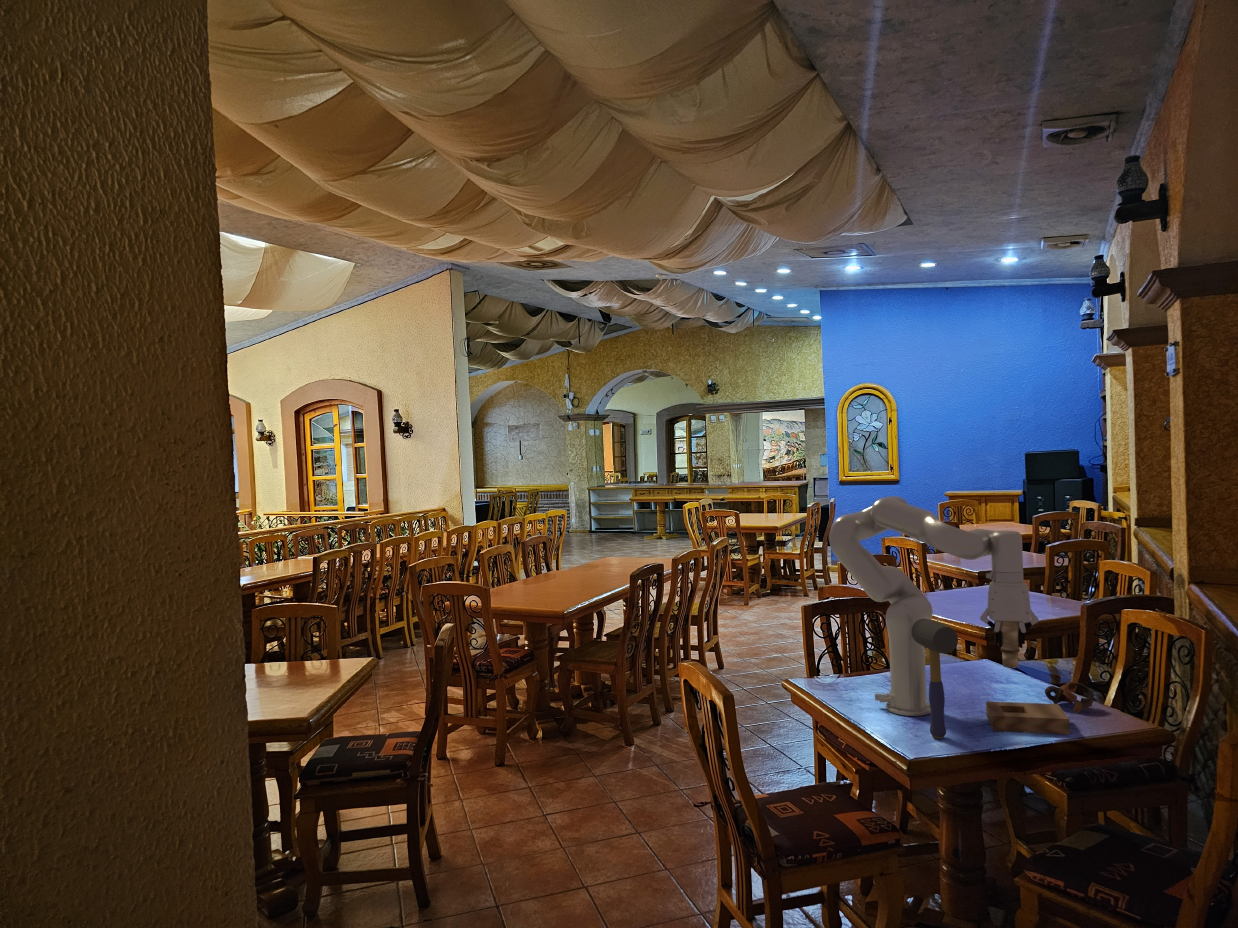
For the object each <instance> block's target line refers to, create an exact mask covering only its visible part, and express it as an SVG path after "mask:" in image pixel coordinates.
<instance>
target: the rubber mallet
mask: <svg viewBox="0 0 1238 928" xmlns="http://www.w3.org/2000/svg"><path fill="white" fill-rule="evenodd" d="M911 633H912V637H913V639H914V640H915V641H916V642H917V643H919V644H920V645H922V646H924V648H926V649H928V650H929V670H930V671H929V672H930V673H929V675H930V679H929V680H930V681H929V685H928V688H929V689H928V703H929V704H930V709H931V713H930V727H929V733H930V735H931V736H932V738H934V739H939V740H940V739H944V738H945V736H946V734H947V728H946V727H947V726H946V725H945V703H946V702H945V701H946V700H945V688H944V684H943V681H942V675H941V655H940V654H950V653H952V652H954V650H955V649H957V646H958V644H959V637H958V633H957V631H956V630H955V629H954V628H952V627H950V626H949V625H947V624H944V623H941V622H939V621H936V620H933V619H931V620H930V619H919V620H918V621H916V622H915V623H914V624H913V627H912V631H911Z"/></svg>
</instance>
